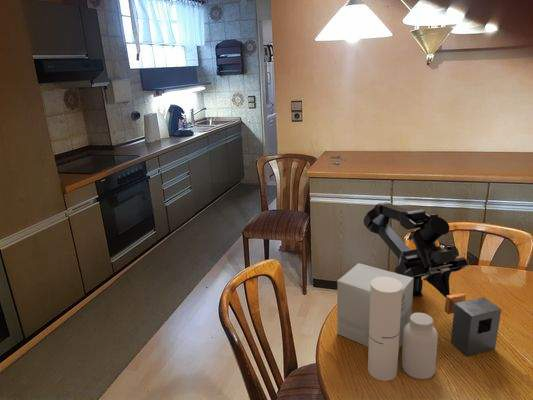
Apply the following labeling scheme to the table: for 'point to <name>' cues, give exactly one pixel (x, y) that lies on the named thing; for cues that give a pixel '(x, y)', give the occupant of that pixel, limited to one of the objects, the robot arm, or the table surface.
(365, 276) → the supplement box
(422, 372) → the pill bottle
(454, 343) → the block
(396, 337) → the cylindrical container
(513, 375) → the table surface
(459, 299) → the pin
